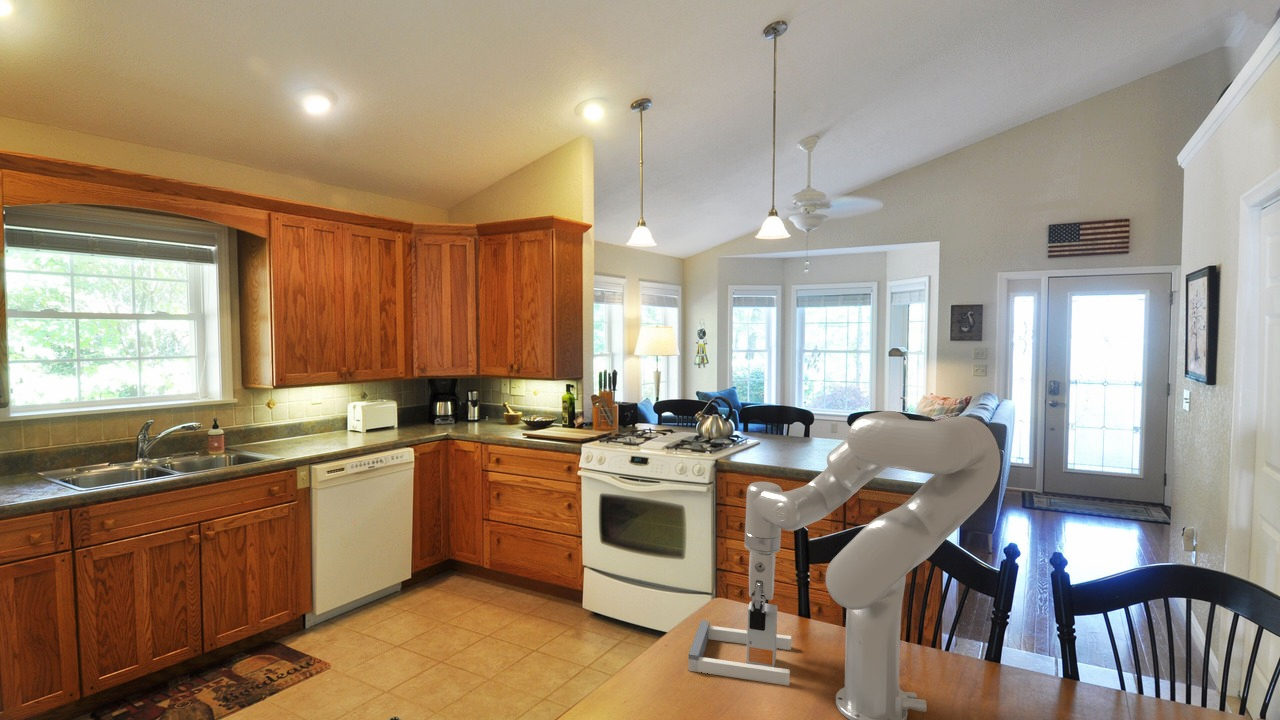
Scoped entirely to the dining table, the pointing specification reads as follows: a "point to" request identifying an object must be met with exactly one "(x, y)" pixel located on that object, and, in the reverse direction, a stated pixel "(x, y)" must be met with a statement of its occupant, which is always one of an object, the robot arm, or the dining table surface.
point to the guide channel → (730, 667)
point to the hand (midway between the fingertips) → (758, 618)
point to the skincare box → (763, 639)
